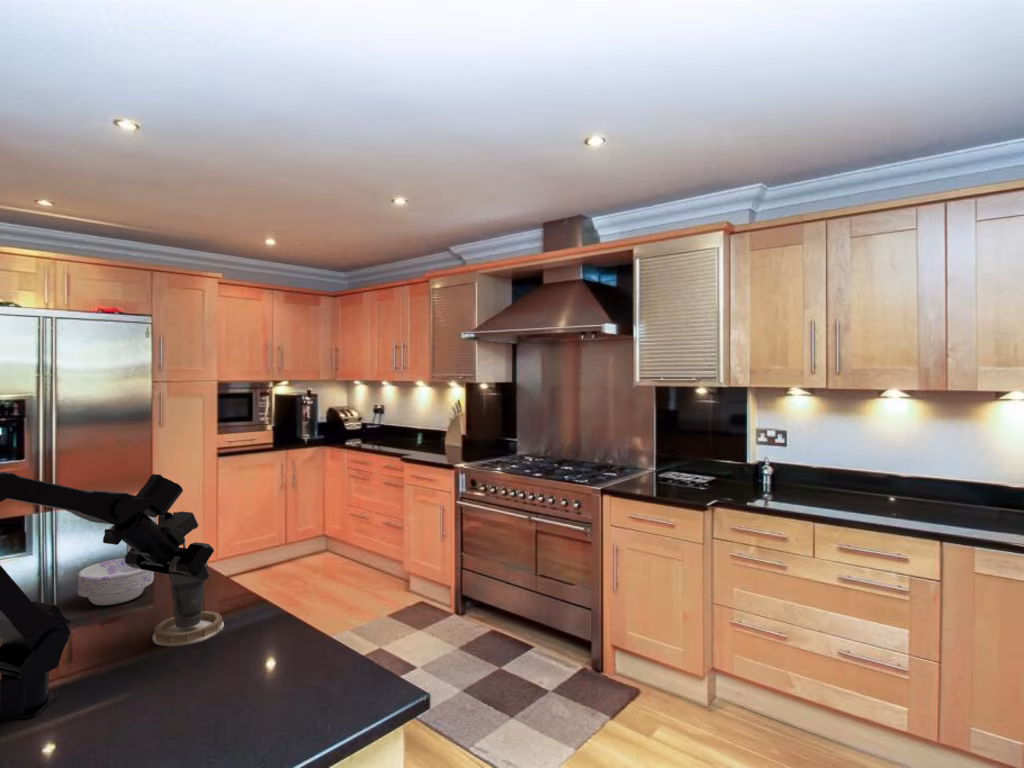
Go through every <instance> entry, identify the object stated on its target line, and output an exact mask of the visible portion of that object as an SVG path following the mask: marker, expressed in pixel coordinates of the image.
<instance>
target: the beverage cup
mask: <svg viewBox="0 0 1024 768" xmlns="http://www.w3.org/2000/svg"><path fill="white" fill-rule="evenodd" d="M185 537H186V536H184V537H183V538H184V539H185V540H186V538H185ZM182 548H187V546H186V541H185V542H184V543H183V544H182ZM178 561H179V560H174V559H172V561H171V563H170V566H169V570H168V573H169V574H168V577H169V581H170V584H171V585H170V587H171V594H172V606H173V614H174V615H173V617H174V619H175V623H176V627H178V628H187V627H192V626H195V625H197V624H199V623H200V618H201V612H202V611H203V600H204V592H205V591H204V589H205V581H206V580H202V579H197V578H192V577H186V576H181V575H179V574H180V573H179V572H178V571H177V570H176V563H177V562H178ZM205 567H206V569H207V570H208V567H209V565H208V562H207V563H206V564H205Z"/></svg>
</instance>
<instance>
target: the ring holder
mask: <svg viewBox="0 0 1024 768" xmlns="http://www.w3.org/2000/svg"><path fill="white" fill-rule="evenodd" d="M224 626H225V624H224V621H223V616H222V615H221V614H220V613H219V612H216V611H210V610H205V611H204V610H202V612H201V618H200V623H199V624H197V625H195V626H192V627H187V628H178V627H176V623H175V619H174V616H171V617H170V618H166V619H165V620H162V621H161V622H159V624H157V625H156V626H155V627H154V633H153V635H152V642H153V644H155V645H158V646H161V647H180V646H187V645H192V644H193V645H194V644H195V643H200V642H203V641H205V640H208V639H210V638H213V637H215V636H217V635H218V634H220V633H221V632H220V631H221V630H222V631H223V630H224V628H223V627H224Z"/></svg>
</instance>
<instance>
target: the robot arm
mask: <svg viewBox="0 0 1024 768" xmlns="http://www.w3.org/2000/svg"><path fill="white" fill-rule="evenodd" d="M137 492H138V494H137V495H136V496H135V495H133V494H130V493H127V492H121V491H109V490H108V491H107V490H89V489H87V490H86V489H85V490H84V489H77V488H74V487H69V486H64V485H60V484H56V483H51V482H48V481H47V482H46V481H42V480H37V479H34V478H28V477H25V476H19V475H17V474H15V473H13V472H6V471H0V503H1V502H3V501H5V500H9V501H15V502H20V503H25V504H32V505H37V506H41V507H47V508H51V509H56V510H57V509H58V510H62V511H67V512H68V513H71V514H73V515H74V516H76V517H79V518H81V519H83V520H85V521H89V522H93V523H99V524H108V525H112V526H111V527H110V528H106V529H104V531H103V532H104V535H103V537H102V543H103V544H108V545H116V546H117V545H118V546H119V544H120V543H121V542H124V543H125V544H126V545H127V544H128V545H129V546H130V547H131V550H130V551H129V552H128V553H127V552H126V555H125V556H124V558H125V563H126V564H127V565H129V566H130V567H132V568H139V569H141V570H147V571H153V572H154V573H158V574H165V575H169V573H168V570H169V566H170V563H171V561H172V559H174V560H179V561H178V562H177V563H176V570H177V571H178V572H179V573H180V574H179V575H181V576H186V577H192V578H197V579H202V580H205V581H207V580H208V578H209V577H210V575H209V572H208V568H207V569H206V567H205V564H206V563H207V564H208V561H209V560H210V558H211V556H212V555H213V553H215V550H214V548H213V547H212V545H210V544H209V543H205V542H196V541H195V542H192V543H190V544H189V545H188V546H187V547H186V548H183V547H180V546H183V543H184V542H185V543H186V538H185V539H184V538H183V537H186V536H187V535H188V534H190V533H191V532H192V531H193V530H196V529H197V528H198V527H199V523H198V521H197V519H196V516H195V514H194V513H193V512H190V511H177V512H176V511H174V512H173V513H172V512H170V511H169V510H170V509H171V508H172V507H173V505H174V504H175V503H176V502H177V499H179V497H180V496H181V494H182V493H183V492H184V490H183V487H182V486H181V485H180V484H179V483H177V482H174V481H172V480H171V479H169V478H166V477H163V475H161V474H159V473H157V474H156V473H153V474H151V475H150V476H149V478H148V479H147V482H146V483H145V484H144V485H143V486H142V488H140V490H139V491H137ZM148 516H150V517H154V518H155V517H157V524H156V523H155V522H154V521H153V520H152V519H151V518H149V517H148ZM70 623H71V620H70V619H67V618H65V616H64V615H63V614H62V612H61V610H60V608H59V607H58V605H56V604H51V603H48V602H41V601H36V600H31V599H30V598H29V596H27V594H26V592H24V591H23V589H21V587H20V586H19V584H17V583H16V582H15V581H14V579H13V578H12V577H11V576H10V575H9V573H8V572H7V571H6V570H5V568H3V566H2V565H1V564H0V637H1V639H2V641H3V642H2V643H1V644H0V721H5V720H4V719H8V720H17V719H16V718H19V719H26V718H27V719H29V718H34V717H36V716H37V715H39V714H40V713H41V712H42V711H43V710H45V708H47V705H48V706H49V705H50V704H51V703H52V702H54V700H56V698H59V695H60V693H59V692H49V690H50V689H49V688H50V687H49V686H50V685H49V684H50V683H49V680H50V679H49V677H50V676H49V672H51V671H53V670H55V669H57V668H58V667H59V664H60V661H61V658H62V656H63V652H64V649H65V647H66V645H67V643H68V641H69V639H70V636H71V629H70V627H69V625H68V624H70Z"/></svg>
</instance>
